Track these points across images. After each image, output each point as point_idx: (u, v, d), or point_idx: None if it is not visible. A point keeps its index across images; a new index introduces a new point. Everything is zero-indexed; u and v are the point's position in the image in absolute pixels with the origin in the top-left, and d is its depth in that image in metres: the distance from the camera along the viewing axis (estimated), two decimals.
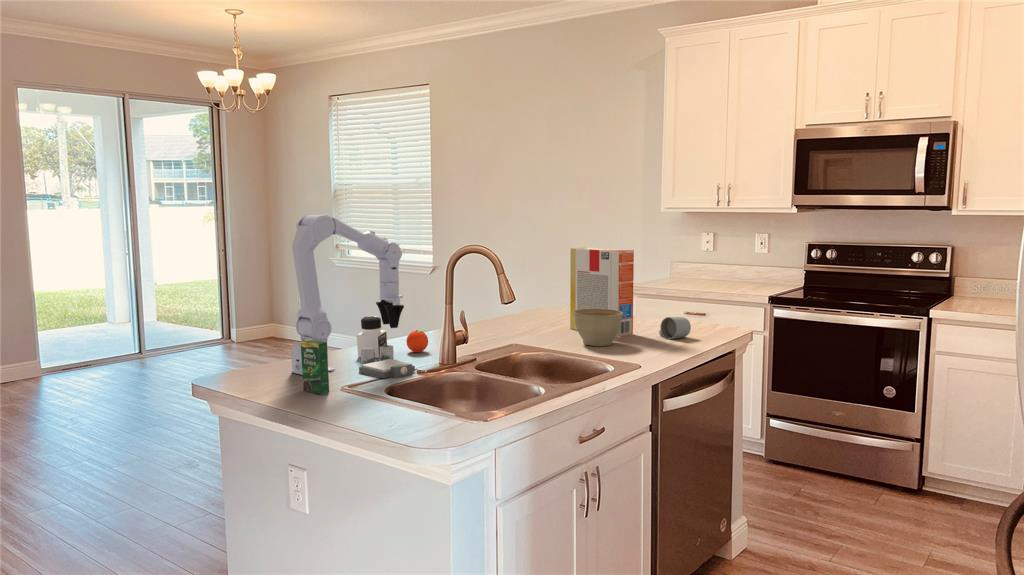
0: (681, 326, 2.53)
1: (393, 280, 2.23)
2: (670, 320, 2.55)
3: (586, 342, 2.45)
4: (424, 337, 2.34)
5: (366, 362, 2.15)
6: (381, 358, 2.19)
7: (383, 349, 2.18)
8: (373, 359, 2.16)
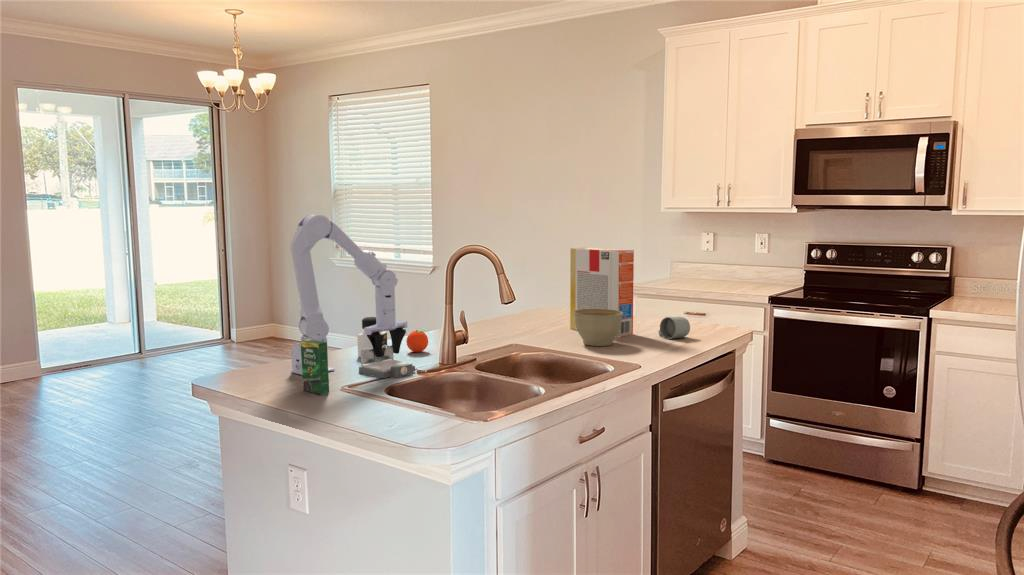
0: (680, 326, 2.53)
1: (387, 308, 2.16)
2: (669, 320, 2.56)
3: (586, 342, 2.45)
4: (424, 337, 2.34)
5: (366, 363, 2.15)
6: (381, 358, 2.19)
7: (383, 349, 2.18)
8: (373, 360, 2.16)
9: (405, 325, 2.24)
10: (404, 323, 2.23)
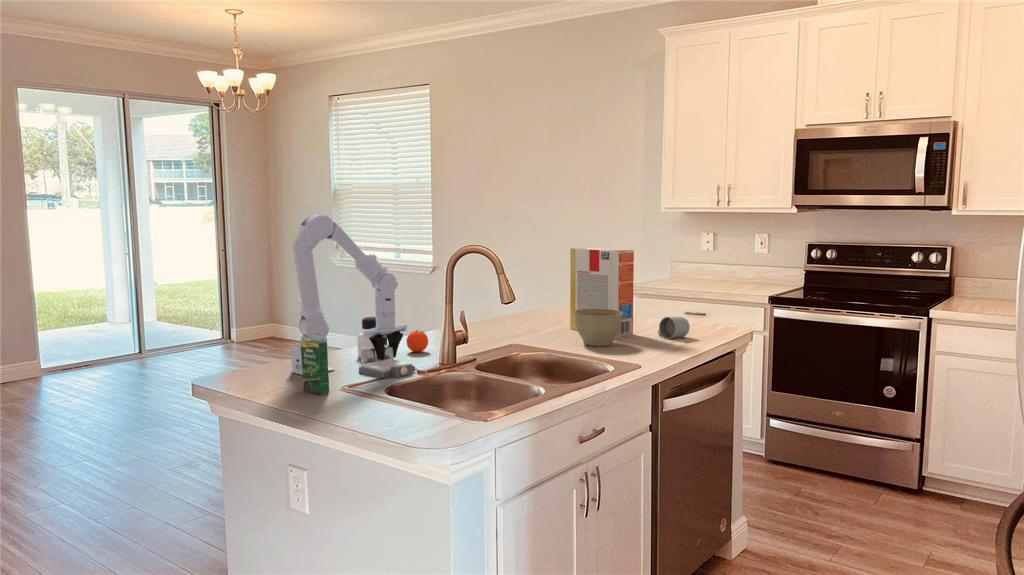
0: (680, 326, 2.53)
1: (387, 312, 2.16)
2: (669, 320, 2.56)
3: (586, 342, 2.45)
4: (424, 337, 2.34)
5: (366, 362, 2.15)
6: None
7: None
8: (373, 359, 2.16)
9: (405, 328, 2.24)
10: (404, 326, 2.23)
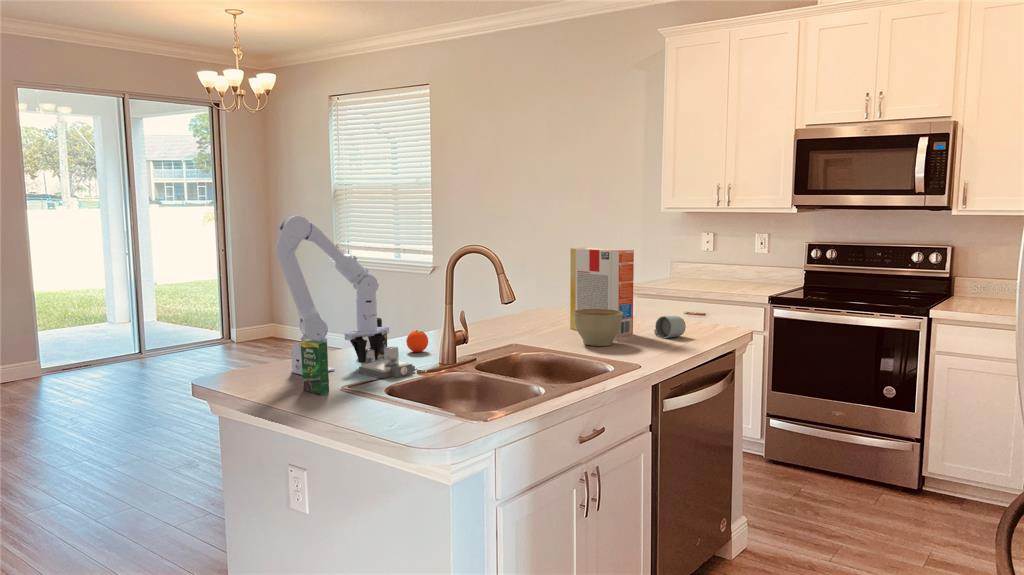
0: (676, 325, 2.55)
1: (367, 314, 2.12)
2: (665, 319, 2.57)
3: (586, 342, 2.45)
4: (424, 337, 2.34)
5: (366, 362, 2.15)
6: (385, 360, 2.06)
7: (386, 351, 2.05)
8: (373, 359, 2.16)
9: (387, 331, 2.20)
10: (386, 329, 2.19)
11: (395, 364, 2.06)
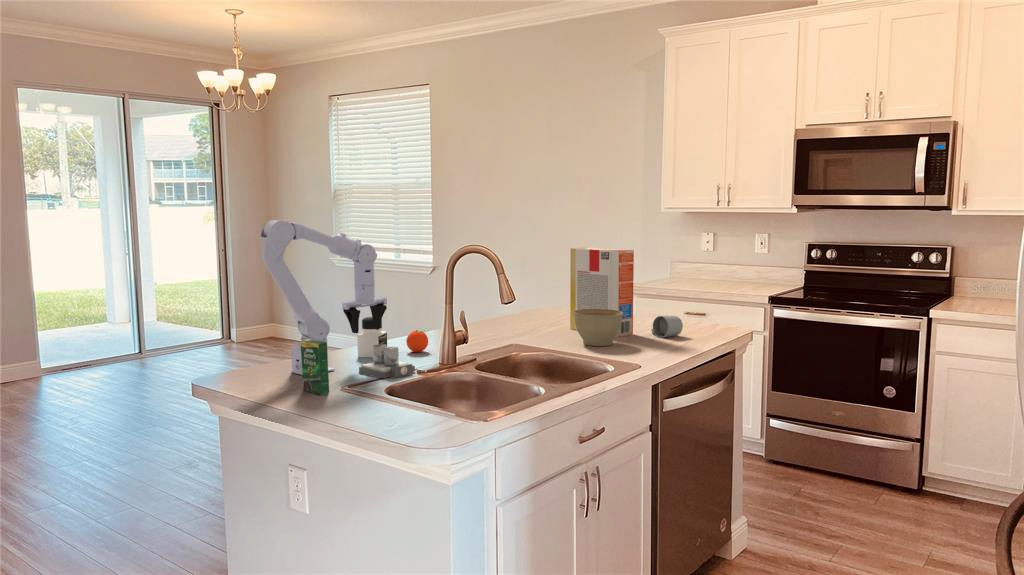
0: (673, 325, 2.56)
1: (366, 283, 2.14)
2: (662, 319, 2.58)
3: (586, 342, 2.45)
4: (424, 337, 2.34)
5: (378, 359, 2.08)
6: (385, 360, 2.06)
7: (386, 351, 2.05)
8: None
9: (384, 301, 2.21)
10: (383, 299, 2.20)
11: (395, 364, 2.06)
